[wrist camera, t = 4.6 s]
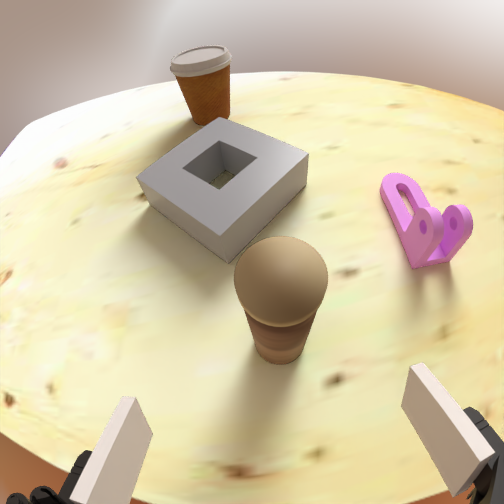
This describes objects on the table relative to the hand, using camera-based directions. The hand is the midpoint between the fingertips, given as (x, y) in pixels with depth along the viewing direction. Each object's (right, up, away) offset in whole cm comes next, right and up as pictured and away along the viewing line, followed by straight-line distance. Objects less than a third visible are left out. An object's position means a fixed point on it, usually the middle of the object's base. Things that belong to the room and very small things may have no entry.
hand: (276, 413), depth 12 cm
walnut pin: (+1, -1, +13) cm, 13 cm away
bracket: (+18, +11, +19) cm, 29 cm away
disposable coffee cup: (-8, +30, +33) cm, 46 cm away
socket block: (-4, +14, +23) cm, 28 cm away
